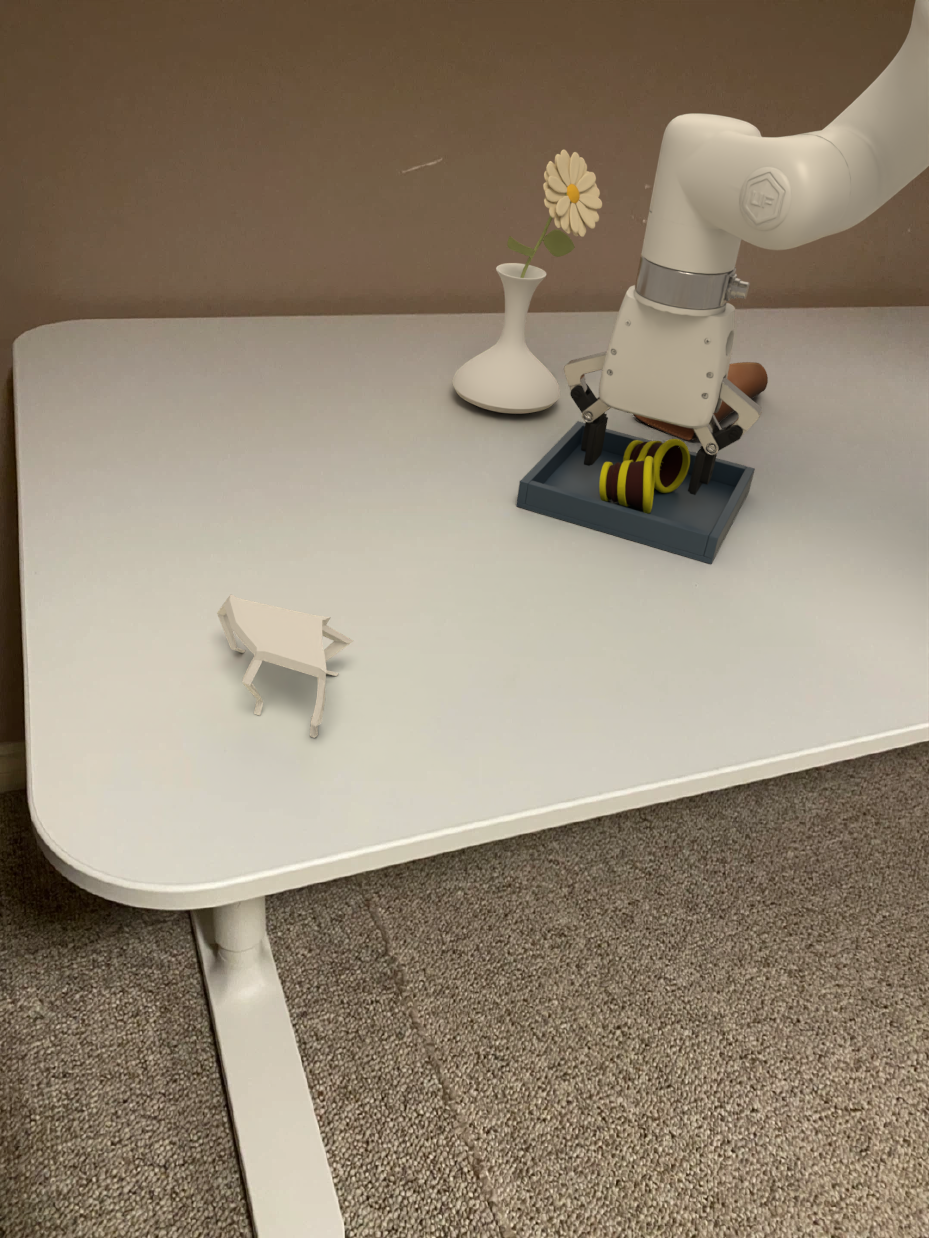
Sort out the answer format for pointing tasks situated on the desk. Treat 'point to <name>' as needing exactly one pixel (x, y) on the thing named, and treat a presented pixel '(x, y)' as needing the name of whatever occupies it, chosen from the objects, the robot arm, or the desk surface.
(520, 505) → the tray
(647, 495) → the opera glasses
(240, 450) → the desk surface
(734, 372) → the sunglasses case
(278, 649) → the origami figure
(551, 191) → the flower in vase
